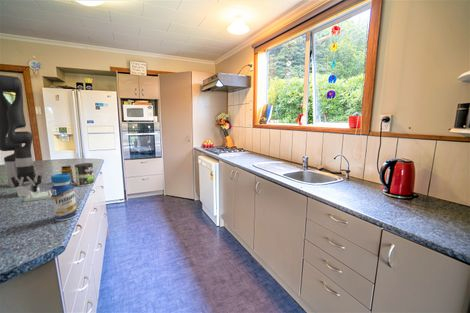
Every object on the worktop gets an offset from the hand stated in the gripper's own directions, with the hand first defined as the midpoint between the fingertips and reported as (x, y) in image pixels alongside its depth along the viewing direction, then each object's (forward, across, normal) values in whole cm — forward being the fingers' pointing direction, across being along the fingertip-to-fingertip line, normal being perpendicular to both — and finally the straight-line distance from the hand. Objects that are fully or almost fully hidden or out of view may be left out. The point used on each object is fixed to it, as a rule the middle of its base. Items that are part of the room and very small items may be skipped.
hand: (29, 192), depth 130 cm
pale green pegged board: (+1, -11, +11) cm, 16 cm away
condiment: (+1, -15, -20) cm, 25 cm away
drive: (+1, 0, 0) cm, 1 cm away
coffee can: (+1, -27, -10) cm, 29 cm away
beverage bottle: (+1, -32, +49) cm, 58 cm away
